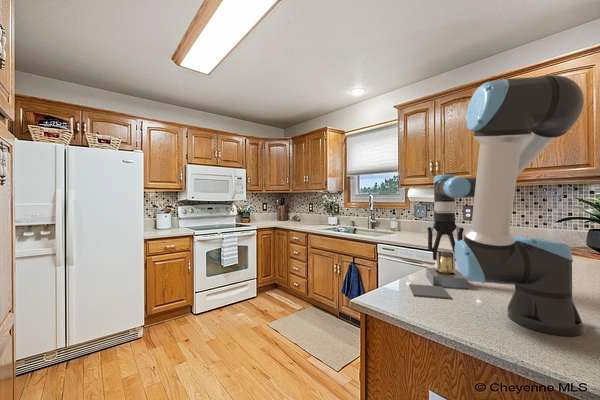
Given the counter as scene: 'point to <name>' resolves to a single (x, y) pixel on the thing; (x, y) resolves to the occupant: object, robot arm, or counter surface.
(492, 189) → the robot arm
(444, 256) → the glass jar
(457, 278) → the block
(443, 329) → the counter surface
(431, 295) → the mat
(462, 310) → the counter surface
